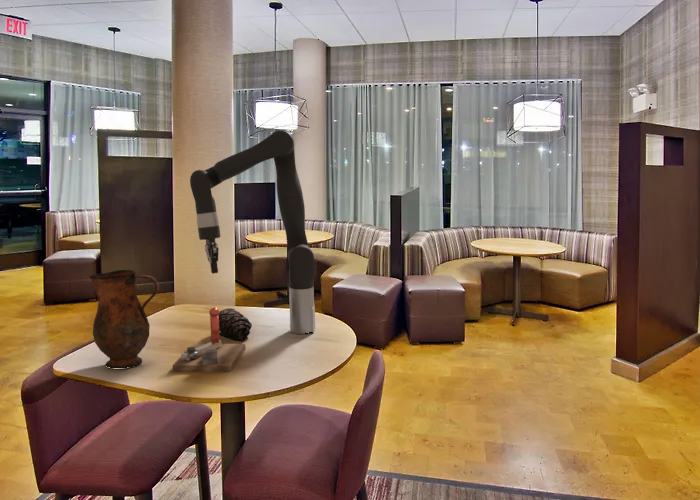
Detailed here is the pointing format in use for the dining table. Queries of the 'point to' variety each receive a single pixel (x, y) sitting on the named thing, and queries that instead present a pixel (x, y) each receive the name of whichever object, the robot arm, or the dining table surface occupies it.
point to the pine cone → (233, 325)
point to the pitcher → (120, 317)
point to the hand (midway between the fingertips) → (214, 273)
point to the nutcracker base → (222, 356)
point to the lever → (214, 337)
